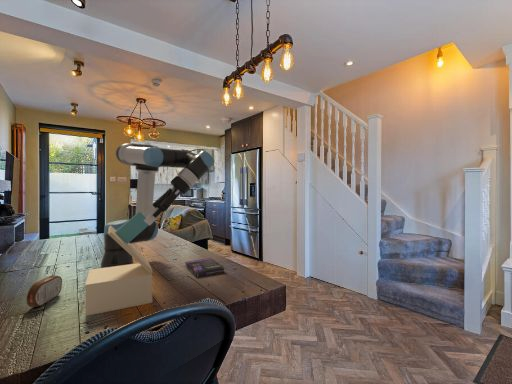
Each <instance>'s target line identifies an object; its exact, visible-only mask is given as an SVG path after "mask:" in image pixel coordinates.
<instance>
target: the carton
mask: <svg viewBox="0 0 512 384" xmlns="http://www.w3.org/2000/svg"><path fill="white" fill-rule="evenodd" d="M84 289H85V292H84V293H85V297H84V298H85V316H86V317H87V316H92V315H97V314H102V313H107V312H112V311H116V310H122V309H127V308H131V307H137V306H142V305H147V304H152V303H153V275H152V273H150V272H148V271H147V270H146V269H145V268H144V267H143V266H142V265H141V264H140V263H139V262H137V263H133V264H129V265H122V266H114V267H106V268H101V267H99V268H91V269H89V270H88V274H87V277H86V282H85V284H84Z"/></svg>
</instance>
